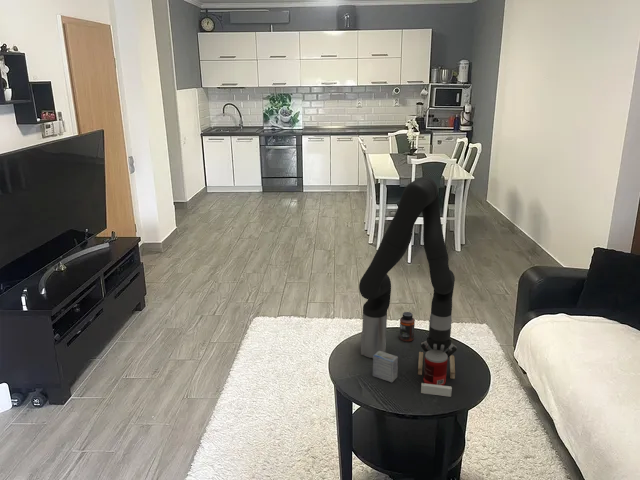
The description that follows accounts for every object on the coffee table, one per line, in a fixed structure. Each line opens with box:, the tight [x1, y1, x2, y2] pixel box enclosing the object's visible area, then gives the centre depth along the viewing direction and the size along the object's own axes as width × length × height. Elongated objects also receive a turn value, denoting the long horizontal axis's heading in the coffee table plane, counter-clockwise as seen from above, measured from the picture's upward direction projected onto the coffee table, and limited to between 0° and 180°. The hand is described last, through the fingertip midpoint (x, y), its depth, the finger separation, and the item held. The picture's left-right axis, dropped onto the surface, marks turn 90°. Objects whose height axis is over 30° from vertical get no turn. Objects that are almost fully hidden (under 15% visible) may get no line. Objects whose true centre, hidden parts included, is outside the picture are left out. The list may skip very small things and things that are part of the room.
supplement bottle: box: [398, 311, 416, 342], centre depth 209 cm, size 6×6×11 cm
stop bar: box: [420, 382, 453, 398], centre depth 173 cm, size 10×2×3 cm, turn 78°
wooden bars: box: [417, 351, 456, 380], centre depth 189 cm, size 13×12×2 cm
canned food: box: [423, 349, 449, 386], centre depth 178 cm, size 8×8×11 cm
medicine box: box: [372, 351, 399, 383], centre depth 182 cm, size 8×4×9 cm, turn 56°
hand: (436, 367), depth 184 cm, fingers closed
